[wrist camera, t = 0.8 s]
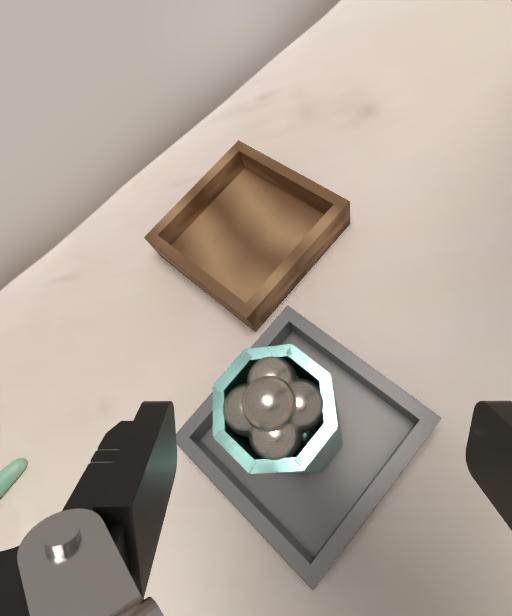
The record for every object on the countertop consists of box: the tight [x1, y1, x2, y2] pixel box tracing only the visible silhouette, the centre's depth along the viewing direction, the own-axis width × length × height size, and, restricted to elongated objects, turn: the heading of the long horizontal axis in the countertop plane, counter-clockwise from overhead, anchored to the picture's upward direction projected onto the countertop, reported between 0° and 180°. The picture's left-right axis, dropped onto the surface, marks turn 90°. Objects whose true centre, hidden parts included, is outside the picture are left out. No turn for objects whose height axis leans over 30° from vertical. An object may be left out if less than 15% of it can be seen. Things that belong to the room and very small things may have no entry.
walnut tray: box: [144, 140, 350, 332], centre depth 39 cm, size 14×14×4 cm
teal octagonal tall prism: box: [213, 344, 343, 474], centre depth 25 cm, size 6×6×16 cm
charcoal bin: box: [176, 305, 441, 590], centre depth 31 cm, size 14×14×4 cm
